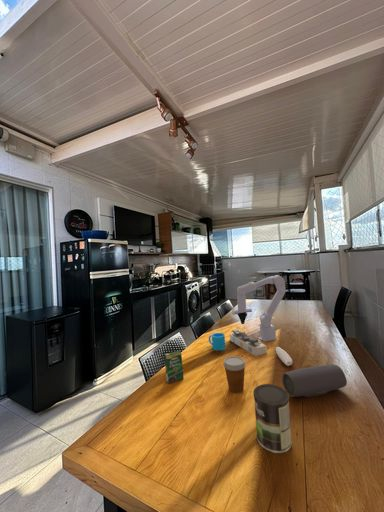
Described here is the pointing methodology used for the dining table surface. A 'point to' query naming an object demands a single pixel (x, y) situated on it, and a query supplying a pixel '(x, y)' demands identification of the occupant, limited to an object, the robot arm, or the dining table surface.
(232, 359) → the disposable coffee cup
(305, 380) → the bluetooth speaker
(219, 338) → the mug
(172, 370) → the coffee box
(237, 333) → the dark grey block
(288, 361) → the white corn cob
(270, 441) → the coffee can
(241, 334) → the rocker dark gray
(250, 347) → the power strip
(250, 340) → the rocker slate
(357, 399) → the dining table surface
